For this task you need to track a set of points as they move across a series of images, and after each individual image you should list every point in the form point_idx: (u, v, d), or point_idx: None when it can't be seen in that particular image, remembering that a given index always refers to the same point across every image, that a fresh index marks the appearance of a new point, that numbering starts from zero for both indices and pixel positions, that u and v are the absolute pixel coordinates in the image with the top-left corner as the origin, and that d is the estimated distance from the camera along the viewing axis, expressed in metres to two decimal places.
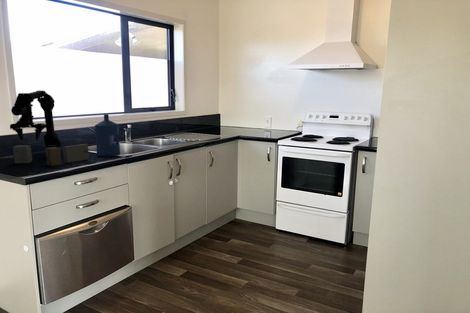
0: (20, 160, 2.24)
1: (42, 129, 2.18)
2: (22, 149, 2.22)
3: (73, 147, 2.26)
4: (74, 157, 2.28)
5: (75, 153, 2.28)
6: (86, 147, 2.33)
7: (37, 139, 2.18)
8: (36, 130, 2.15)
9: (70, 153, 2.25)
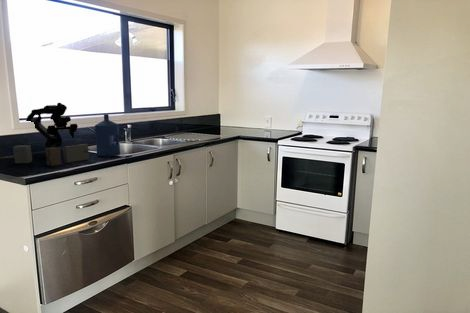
0: (20, 160, 2.24)
1: (74, 130, 2.43)
2: (22, 149, 2.22)
3: (73, 147, 2.26)
4: (74, 157, 2.28)
5: (75, 153, 2.28)
6: (86, 147, 2.33)
7: (73, 137, 2.38)
8: (73, 128, 2.40)
9: (70, 153, 2.25)
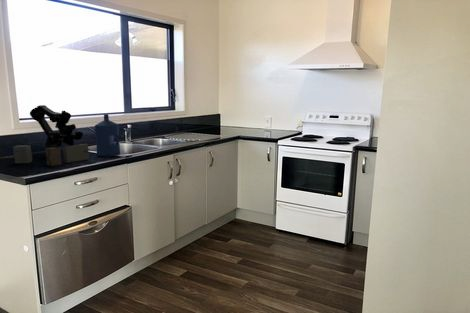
0: (20, 160, 2.24)
1: None
2: (22, 149, 2.22)
3: (73, 147, 2.26)
4: (74, 157, 2.28)
5: (75, 153, 2.28)
6: (86, 147, 2.33)
7: None
8: (72, 136, 2.34)
9: (70, 153, 2.25)
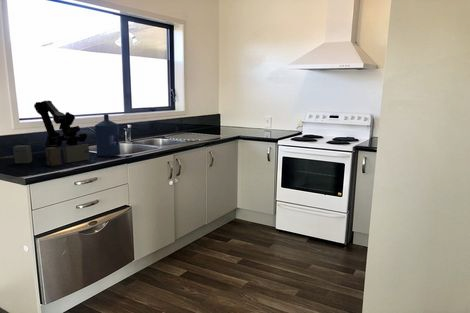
0: (20, 160, 2.24)
1: None
2: (22, 149, 2.22)
3: (73, 147, 2.26)
4: (74, 157, 2.27)
5: (75, 153, 2.28)
6: (87, 147, 2.32)
7: None
8: (76, 138, 2.31)
9: (70, 153, 2.25)
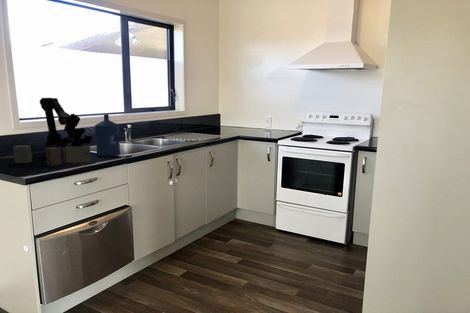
0: (20, 160, 2.24)
1: (82, 143, 2.31)
2: (22, 149, 2.22)
3: (73, 148, 2.23)
4: (74, 158, 2.24)
5: (75, 155, 2.24)
6: (87, 149, 2.24)
7: None
8: (81, 140, 2.27)
9: (70, 154, 2.23)
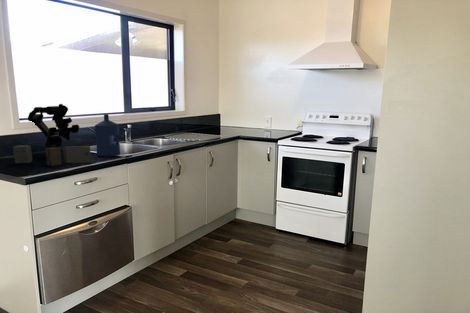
0: (20, 160, 2.24)
1: None
2: (22, 149, 2.22)
3: (73, 148, 2.23)
4: (74, 158, 2.24)
5: (75, 155, 2.24)
6: (87, 149, 2.24)
7: None
8: (68, 129, 2.36)
9: (70, 154, 2.23)
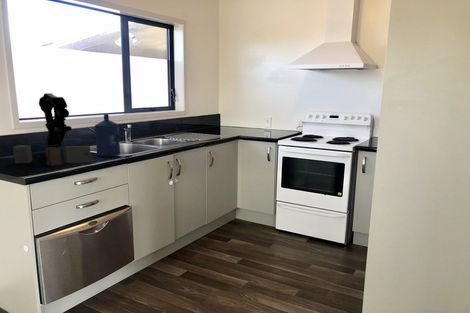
0: (20, 160, 2.24)
1: (64, 131, 2.31)
2: (22, 149, 2.22)
3: (73, 148, 2.23)
4: (74, 158, 2.24)
5: (75, 155, 2.24)
6: (87, 149, 2.24)
7: (61, 140, 2.34)
8: (58, 131, 2.30)
9: (70, 154, 2.23)
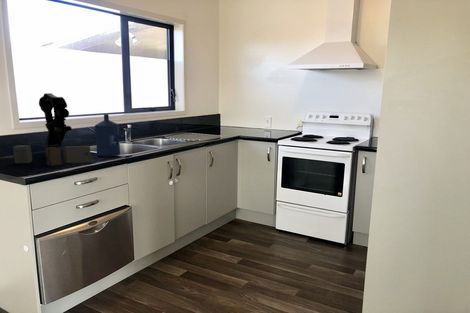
0: (20, 160, 2.24)
1: (64, 131, 2.31)
2: (22, 149, 2.22)
3: (73, 148, 2.23)
4: (74, 158, 2.24)
5: (75, 155, 2.24)
6: (87, 149, 2.24)
7: (61, 140, 2.34)
8: (58, 131, 2.30)
9: (70, 154, 2.23)
